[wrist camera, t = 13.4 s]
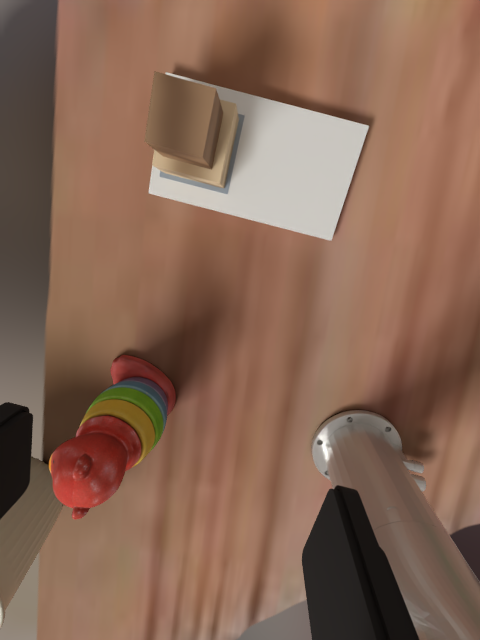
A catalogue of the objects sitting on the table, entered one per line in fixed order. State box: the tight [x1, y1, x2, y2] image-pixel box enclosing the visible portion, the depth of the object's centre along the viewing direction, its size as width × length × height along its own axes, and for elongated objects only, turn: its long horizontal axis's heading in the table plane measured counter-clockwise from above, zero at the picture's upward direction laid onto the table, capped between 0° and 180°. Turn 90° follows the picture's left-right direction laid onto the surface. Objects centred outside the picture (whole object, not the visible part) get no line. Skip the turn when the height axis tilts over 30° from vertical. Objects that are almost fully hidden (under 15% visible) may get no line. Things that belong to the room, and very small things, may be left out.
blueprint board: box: [149, 72, 369, 240], centre depth 33 cm, size 22×12×1 cm, turn 76°
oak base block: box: [152, 99, 239, 188], centre depth 31 cm, size 7×7×4 cm
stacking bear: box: [49, 355, 176, 519], centre depth 35 cm, size 11×10×18 cm
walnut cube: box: [144, 71, 223, 170], centre depth 26 cm, size 5×5×5 cm
